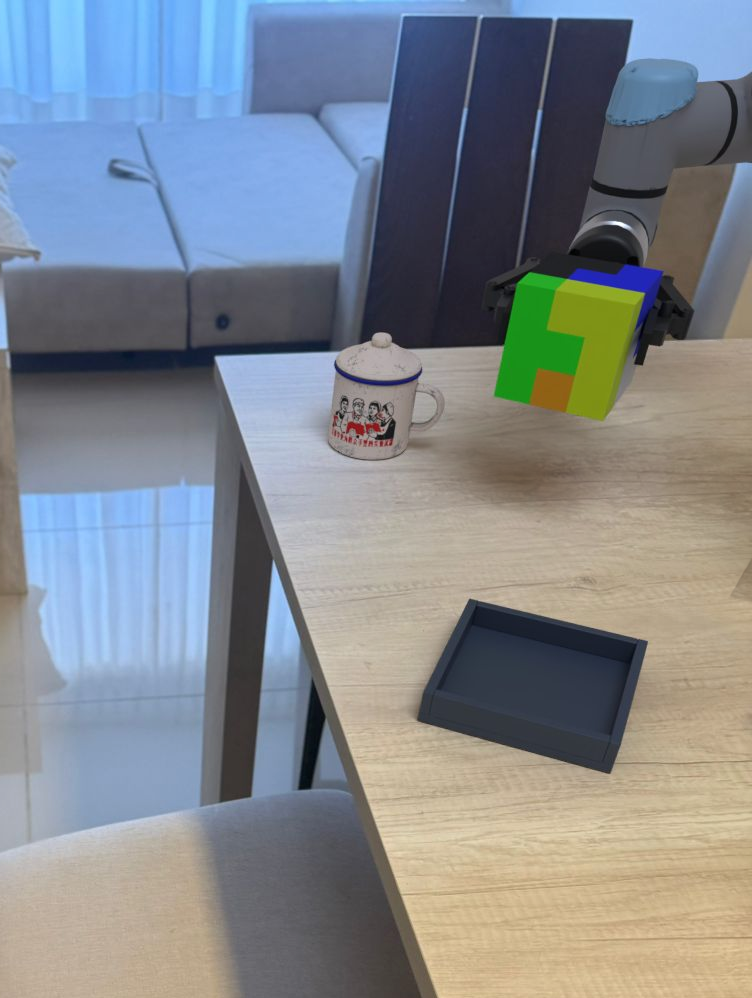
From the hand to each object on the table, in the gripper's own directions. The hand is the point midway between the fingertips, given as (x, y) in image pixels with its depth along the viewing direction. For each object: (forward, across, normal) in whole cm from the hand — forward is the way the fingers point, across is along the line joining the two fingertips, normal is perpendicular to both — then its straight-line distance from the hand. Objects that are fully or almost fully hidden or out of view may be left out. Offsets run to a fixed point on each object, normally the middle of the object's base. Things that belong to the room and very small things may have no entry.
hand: (572, 339), depth 100 cm
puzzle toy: (-4, 0, -6) cm, 7 cm away
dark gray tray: (+28, -5, -18) cm, 33 cm away
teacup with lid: (-11, +18, -18) cm, 27 cm away
